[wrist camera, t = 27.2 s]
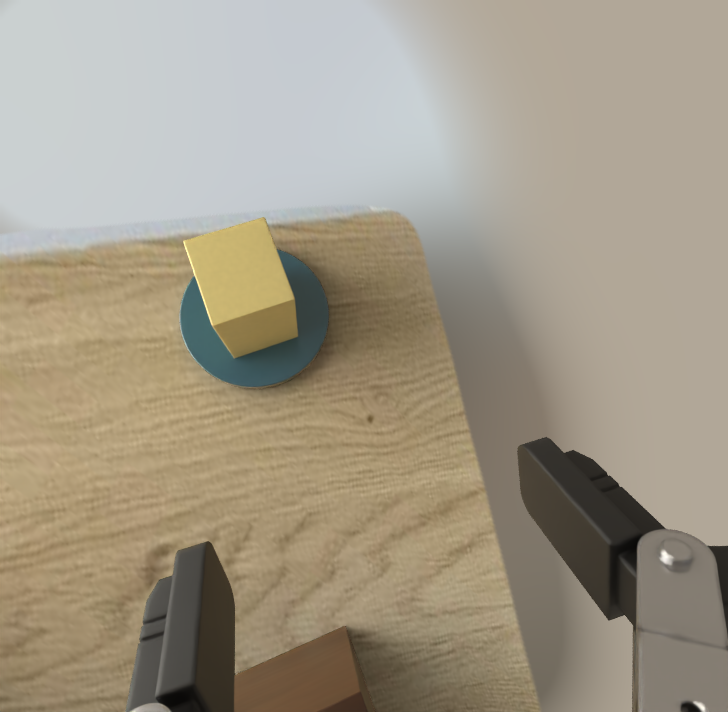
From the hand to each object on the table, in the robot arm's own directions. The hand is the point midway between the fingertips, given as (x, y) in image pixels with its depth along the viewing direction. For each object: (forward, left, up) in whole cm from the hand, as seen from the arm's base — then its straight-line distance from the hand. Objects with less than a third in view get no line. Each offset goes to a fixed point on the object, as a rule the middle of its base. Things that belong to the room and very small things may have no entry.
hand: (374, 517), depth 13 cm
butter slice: (-4, -12, -21) cm, 24 cm away
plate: (-4, -12, -22) cm, 25 cm away
